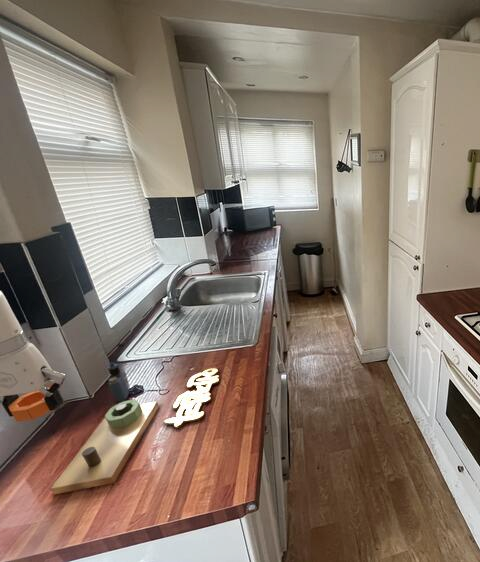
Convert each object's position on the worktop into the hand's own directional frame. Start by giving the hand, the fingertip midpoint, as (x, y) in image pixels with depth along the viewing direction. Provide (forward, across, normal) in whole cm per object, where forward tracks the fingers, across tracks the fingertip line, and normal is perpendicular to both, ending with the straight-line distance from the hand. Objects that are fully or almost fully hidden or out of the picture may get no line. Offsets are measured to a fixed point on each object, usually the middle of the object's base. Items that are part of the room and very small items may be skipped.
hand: (37, 408), depth 72 cm
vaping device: (+16, +3, +20) cm, 26 cm away
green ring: (+14, +10, +8) cm, 19 cm away
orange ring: (0, 0, 0) cm, 0 cm away
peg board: (+16, +10, +1) cm, 19 cm away
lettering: (+16, +26, +15) cm, 34 cm away
